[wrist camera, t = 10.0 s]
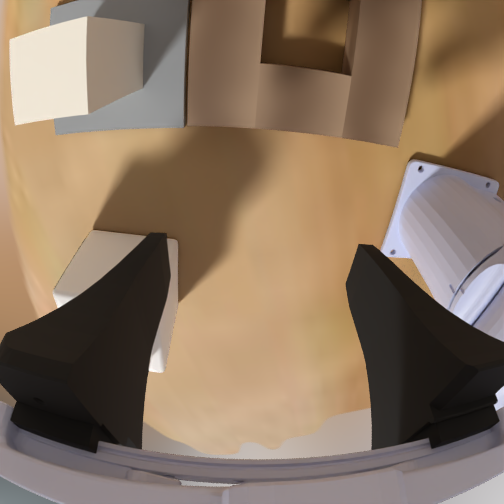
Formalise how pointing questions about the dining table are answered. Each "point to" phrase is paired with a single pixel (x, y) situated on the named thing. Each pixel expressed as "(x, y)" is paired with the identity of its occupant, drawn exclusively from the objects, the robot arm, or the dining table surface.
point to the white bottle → (101, 262)
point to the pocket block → (303, 73)
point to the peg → (74, 67)
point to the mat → (154, 65)
